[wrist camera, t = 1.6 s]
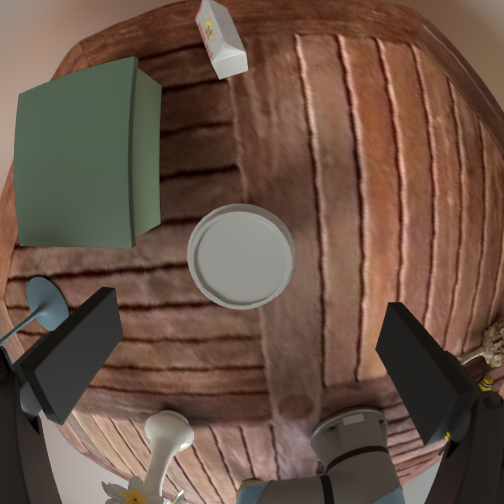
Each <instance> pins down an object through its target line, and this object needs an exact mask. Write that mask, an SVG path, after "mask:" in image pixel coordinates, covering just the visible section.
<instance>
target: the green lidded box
mask: <svg viewBox="0 0 504 504" xmlns="http://www.w3.org/2000/svg"><path fill="white" fill-rule="evenodd" d="M161 92H162V86H161V85H160V84H158V83H157V82H156V81H155V80H153V79H152V78H151V77H149V76H148V75H147V74H146V73H144V72H143V71H142V70H140V69H139V68H138V58H136V57H135V56H133V57H128V58H124V59H119V60H115V61H111V62H107V63H104V64H100V65H96V66H93V67H90V68H86V69H83V70H80V71H77V72H74V73H71V74H68V75H65V76H62V77H60V78H57V79H54V80H52V81H49V82H47V83H44V84H42V85H39V86H37V87H35V88H33V89H30V90H28V91H26V92H23V93H21V94H19V99H18V107H17V116H16V127H15V143H14V188H15V204H16V216H17V225H18V233H19V241H20V246H52V247H97V248H133V247H135V246H136V239H135V238H136V237H138V236H140V235H142V234H143V233H145V232H147V231H148V230H150V229H152V228H154V227H156V226H157V225H159V224H160V223H161V222H160V194H159V137H160V110H161Z"/></svg>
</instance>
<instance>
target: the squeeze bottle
mask: <svg viewBox="0 0 504 504" xmlns="http://www.w3.org/2000/svg"><path fill="white" fill-rule="evenodd" d="M252 482H263V481H261V480H254V479H252V480H245V481H243V482H242V484H241V486H240V487H239V489H238V491H237V493H236V501H237V499H238V496H239V494H240V492H241V490H242V488H243V487H244V486H245V485H247V484H249V483H252Z"/></svg>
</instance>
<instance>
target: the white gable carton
mask: <svg viewBox="0 0 504 504" xmlns="http://www.w3.org/2000/svg"><path fill="white" fill-rule="evenodd" d="M195 20H196V23H197V25H198V28H199V31H200V33H201V36H202V39H203V41H204V44H205V47H206V50H207V52H208V55H209V58H210V61H211V63H212V65H213V67H214V69H215V72H216V74H217V76H218V78H219V80H220V79H223V78H226V77H229V76H232V75H236V74H239V73H242V72H245V71H248V65H247V58H246V52H245V49H244V47H243V44H242V42H241V40H240V37H239V35H238V32H237V30H236V28H235V25H234V23H233V21H232V18H231V16H230V14H229V12H228V9H227V8H226V7H224V6H222V5H220V4H219V3H217V2H215V1H213V0H202V1H201V5H200V7H199V10H198V12H197V14H196V17H195Z"/></svg>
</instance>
